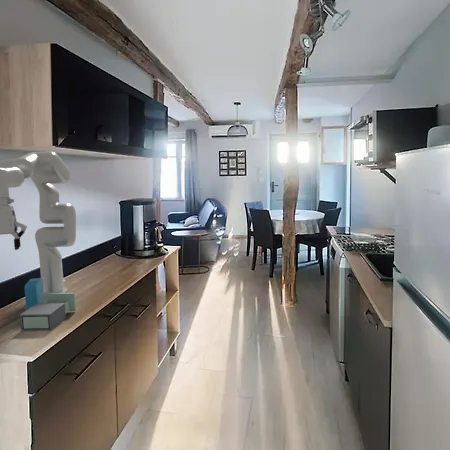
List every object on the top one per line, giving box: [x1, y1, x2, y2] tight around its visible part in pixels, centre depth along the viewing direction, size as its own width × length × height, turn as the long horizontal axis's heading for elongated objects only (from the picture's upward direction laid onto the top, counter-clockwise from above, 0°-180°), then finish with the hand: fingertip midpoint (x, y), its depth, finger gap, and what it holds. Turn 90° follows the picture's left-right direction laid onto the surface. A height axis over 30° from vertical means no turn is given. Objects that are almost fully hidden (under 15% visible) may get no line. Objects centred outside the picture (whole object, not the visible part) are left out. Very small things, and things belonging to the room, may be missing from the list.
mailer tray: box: [23, 292, 77, 329], centre depth 149 cm, size 19×13×8 cm
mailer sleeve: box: [19, 303, 67, 332], centre depth 145 cm, size 12×11×6 cm
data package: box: [24, 277, 44, 311], centre depth 162 cm, size 12×4×12 cm, turn 14°
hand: (2, 250), depth 141 cm, fingers open, 9 cm apart
